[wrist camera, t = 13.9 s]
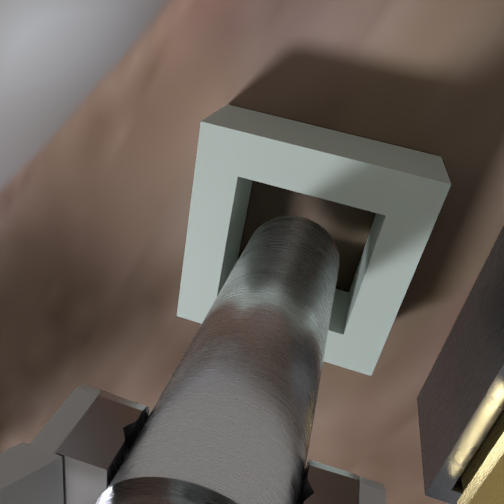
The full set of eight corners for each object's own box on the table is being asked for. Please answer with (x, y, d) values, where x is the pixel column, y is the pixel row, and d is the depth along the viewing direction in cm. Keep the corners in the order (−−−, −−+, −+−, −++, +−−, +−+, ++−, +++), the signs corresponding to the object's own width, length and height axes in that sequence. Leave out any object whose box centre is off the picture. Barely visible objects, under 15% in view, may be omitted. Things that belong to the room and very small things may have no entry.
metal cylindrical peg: (352, 229, 16) (299, 625, 6) (327, 310, 18) (250, 726, 8) (254, 203, 17) (43, 527, 6) (238, 285, 18) (52, 645, 8)
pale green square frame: (441, 156, 17) (450, 184, 14) (372, 329, 21) (371, 375, 18) (227, 104, 18) (201, 121, 15) (201, 278, 22) (176, 316, 19)
